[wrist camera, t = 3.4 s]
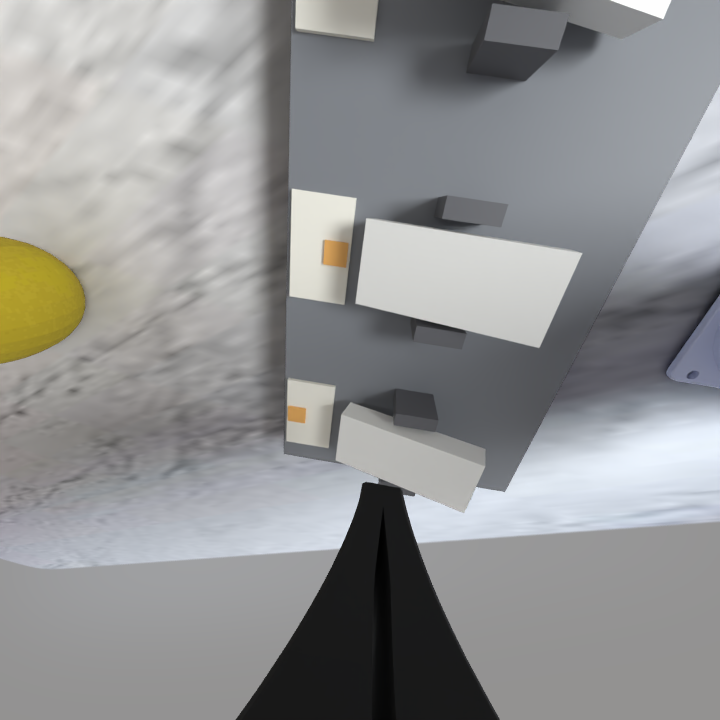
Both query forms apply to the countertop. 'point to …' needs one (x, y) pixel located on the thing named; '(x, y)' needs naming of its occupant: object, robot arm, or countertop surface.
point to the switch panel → (469, 194)
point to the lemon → (35, 300)
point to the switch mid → (464, 279)
